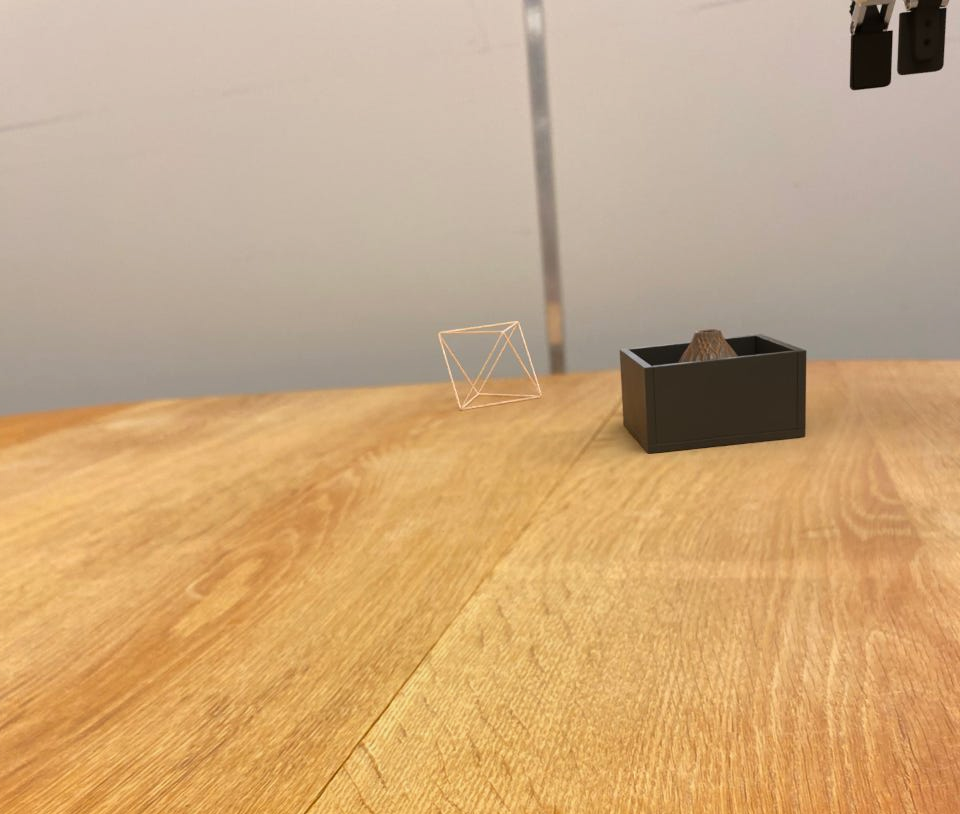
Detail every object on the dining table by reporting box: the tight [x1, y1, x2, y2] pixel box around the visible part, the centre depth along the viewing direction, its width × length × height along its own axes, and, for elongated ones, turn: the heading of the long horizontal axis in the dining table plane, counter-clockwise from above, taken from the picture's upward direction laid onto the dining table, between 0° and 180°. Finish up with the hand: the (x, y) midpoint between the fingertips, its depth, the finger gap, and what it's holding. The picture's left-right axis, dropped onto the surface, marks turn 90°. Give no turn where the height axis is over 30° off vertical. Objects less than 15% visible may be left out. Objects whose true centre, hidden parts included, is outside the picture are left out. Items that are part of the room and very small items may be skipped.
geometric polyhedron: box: [437, 320, 543, 411], centre depth 133 cm, size 12×11×9 cm
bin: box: [619, 333, 807, 454], centre depth 103 cm, size 15×15×8 cm
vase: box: [678, 328, 738, 363], centre depth 103 cm, size 7×7×9 cm
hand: (893, 80), depth 82 cm, fingers open, 9 cm apart
